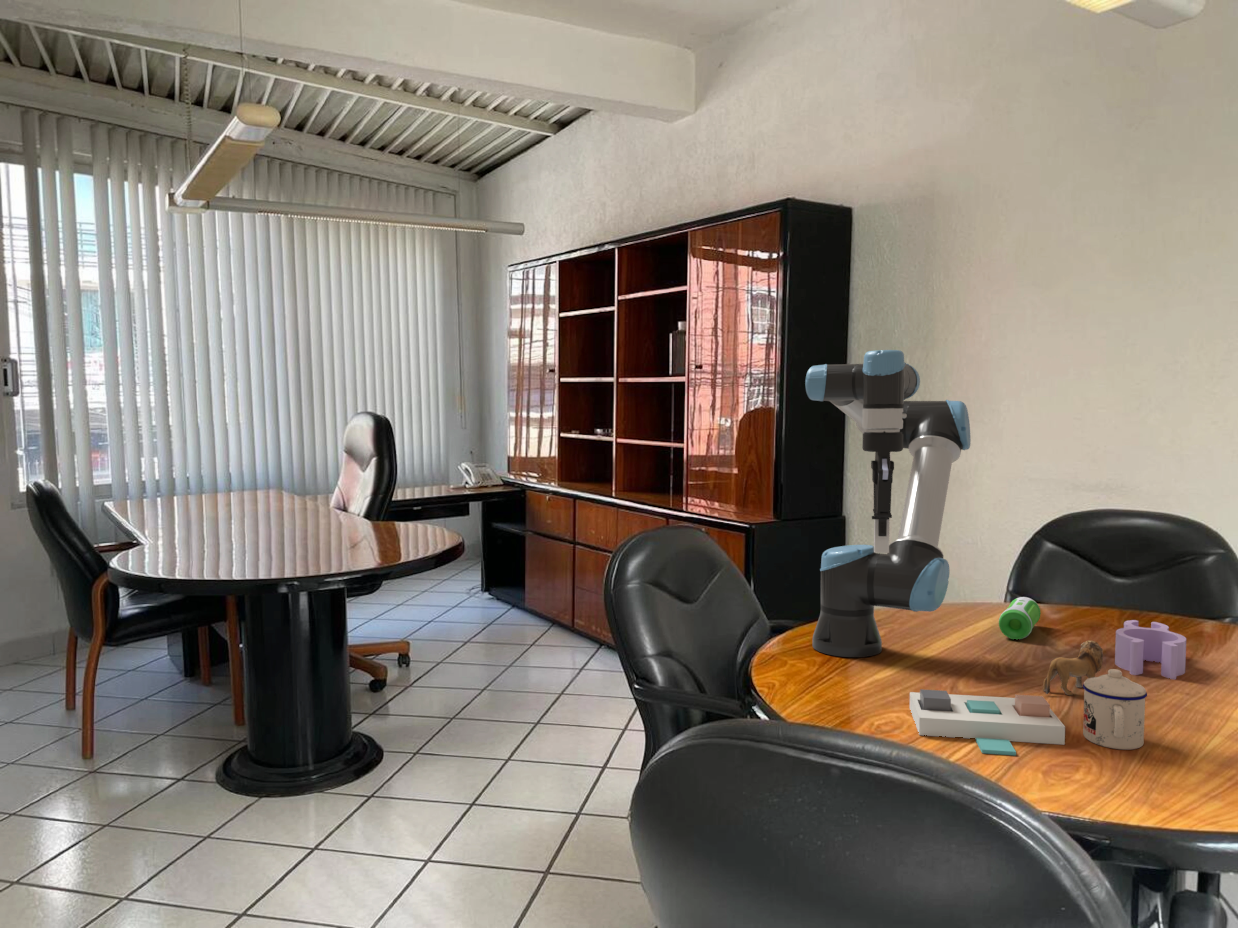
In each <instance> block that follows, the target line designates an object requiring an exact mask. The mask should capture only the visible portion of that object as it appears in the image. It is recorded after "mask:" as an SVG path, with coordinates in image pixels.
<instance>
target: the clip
mask: <svg viewBox="0 0 1238 928" xmlns="http://www.w3.org/2000/svg"><path fill="white" fill-rule="evenodd" d="M1150 624H1151V625H1150V627H1142V626H1139V620H1136V619H1131V620H1125V621H1124V622H1123V627H1121V628H1118V629H1116V630H1115V650H1114V664H1115V666H1117V667H1118V668H1120V669H1122V670H1125V671H1128V672H1129V674H1130V675H1132V676H1139V675H1142V674H1144V661H1145V660H1146V661H1147V662H1153V661H1155V662H1154V663H1159V662H1160V664H1161V666H1160V675H1161V676H1162V677H1164V678H1167V679H1169V678H1170V679H1169V680H1176V679H1177V677H1179V676H1182V675H1184V674H1185V673H1186V661H1187V659H1186V657H1187V637H1185V636H1184V635H1182V634H1180V633H1177V632H1173V631H1170V630H1169V629H1170V627H1169V626H1168V625H1166V624H1165V623H1161V622H1157V621H1152V622H1151V623H1150Z"/></svg>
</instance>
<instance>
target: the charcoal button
mask: <svg viewBox="0 0 1238 928" xmlns="http://www.w3.org/2000/svg"><path fill="white" fill-rule="evenodd" d="M919 693H920V708H921V710H933V711H950V712H951V699H950V697H949V695H948V694H949V693H948V691H947V690H941V689H940V690H938V689H937V690H936V689H923V688H922V689H919Z"/></svg>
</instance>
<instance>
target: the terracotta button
mask: <svg viewBox="0 0 1238 928" xmlns="http://www.w3.org/2000/svg"><path fill="white" fill-rule="evenodd" d="M1014 698H1015V710H1016V712H1017V713H1018V715H1019V716H1033V717H1050V709H1051V707H1050V706H1051V705H1050V703H1049V702H1048V701H1047V700H1046V698H1045V697H1044V696H1043V695H1030V694H1028V695H1026V694H1014Z"/></svg>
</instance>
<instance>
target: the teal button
mask: <svg viewBox="0 0 1238 928" xmlns="http://www.w3.org/2000/svg"><path fill="white" fill-rule="evenodd" d="M967 709H968V710H969V712H970V713H983V714H1000V710H999V709H998V707H997V706H996V704H995V702H994V701H976V700H967Z"/></svg>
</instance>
